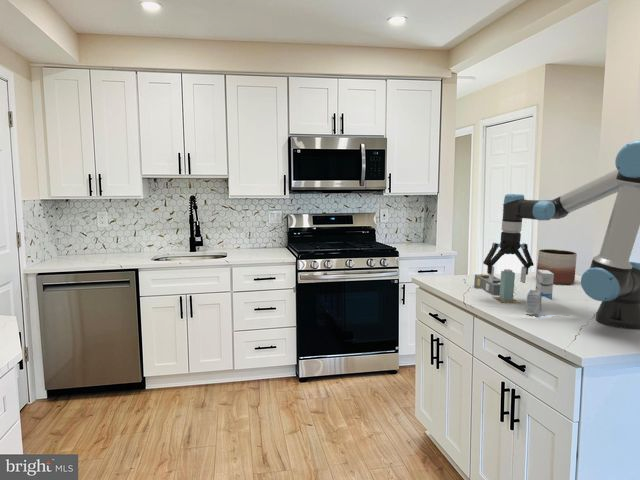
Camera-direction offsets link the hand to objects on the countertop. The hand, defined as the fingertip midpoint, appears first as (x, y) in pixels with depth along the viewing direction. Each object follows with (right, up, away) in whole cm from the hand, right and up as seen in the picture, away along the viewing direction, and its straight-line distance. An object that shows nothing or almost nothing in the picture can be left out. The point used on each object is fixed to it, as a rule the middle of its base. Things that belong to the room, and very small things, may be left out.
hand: (506, 282), depth 185 cm
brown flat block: (0, -9, +1) cm, 9 cm away
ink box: (+22, -8, +13) cm, 26 cm away
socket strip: (+1, -7, +20) cm, 21 cm away
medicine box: (+4, -11, -14) cm, 18 cm away
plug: (0, -8, +1) cm, 8 cm away
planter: (+45, -4, +46) cm, 64 cm away
